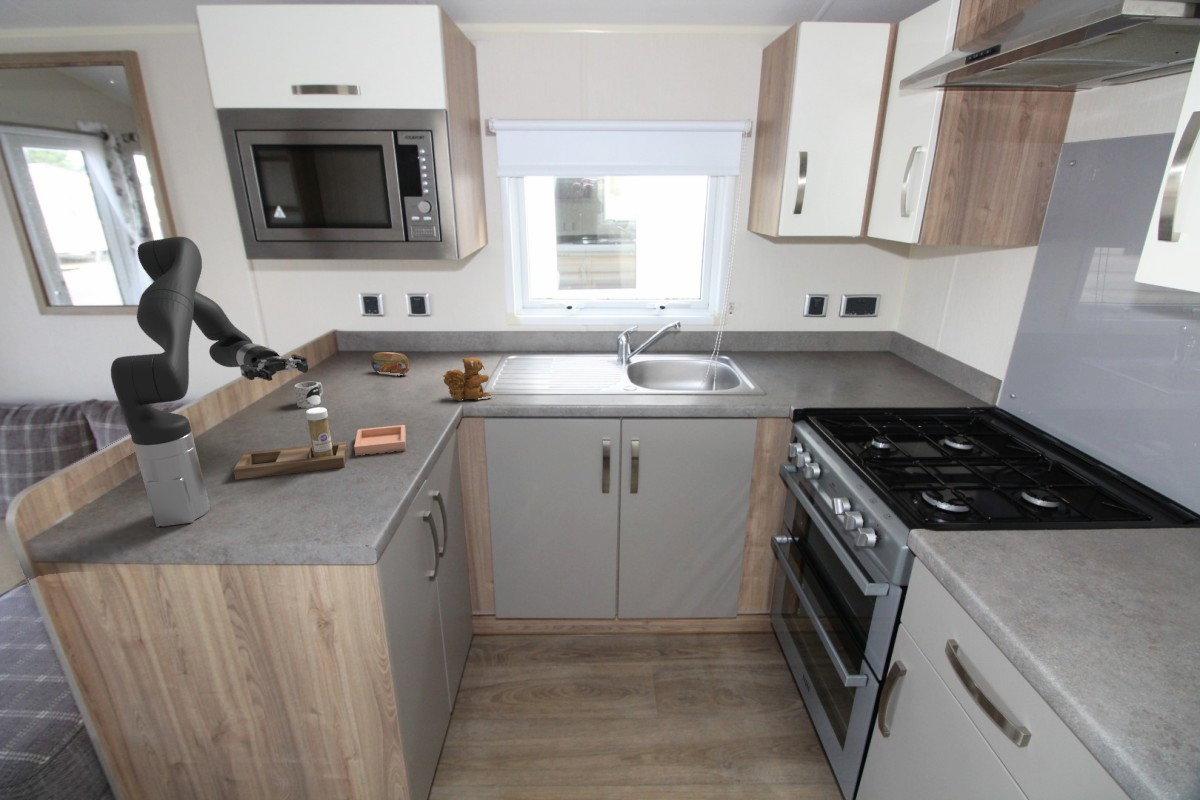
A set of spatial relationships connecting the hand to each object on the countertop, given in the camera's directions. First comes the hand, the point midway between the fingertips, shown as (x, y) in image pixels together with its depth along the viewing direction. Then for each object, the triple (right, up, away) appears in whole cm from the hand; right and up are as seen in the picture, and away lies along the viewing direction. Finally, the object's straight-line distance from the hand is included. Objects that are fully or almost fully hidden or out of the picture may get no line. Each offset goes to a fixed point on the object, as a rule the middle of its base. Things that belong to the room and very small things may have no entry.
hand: (288, 372), depth 139 cm
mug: (-14, -8, +40) cm, 43 cm away
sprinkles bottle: (+9, -22, 0) cm, 24 cm away
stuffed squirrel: (+33, -6, +47) cm, 58 cm away
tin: (0, +2, +70) cm, 70 cm away
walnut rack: (+2, -22, -2) cm, 23 cm away
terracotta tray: (+19, -18, +10) cm, 28 cm away
